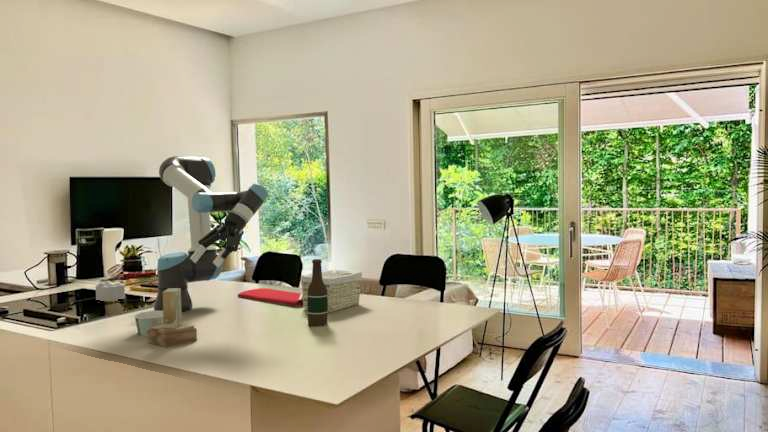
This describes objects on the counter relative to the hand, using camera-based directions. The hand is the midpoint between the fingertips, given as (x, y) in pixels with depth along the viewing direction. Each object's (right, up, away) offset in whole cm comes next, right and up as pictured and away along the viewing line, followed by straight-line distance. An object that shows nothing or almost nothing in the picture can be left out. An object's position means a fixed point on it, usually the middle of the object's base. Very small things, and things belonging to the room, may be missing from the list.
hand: (203, 262), depth 205 cm
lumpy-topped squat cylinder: (-62, -22, +60) cm, 89 cm away
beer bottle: (+39, -24, +10) cm, 47 cm away
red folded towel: (+16, -22, +59) cm, 65 cm away
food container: (-18, -25, -1) cm, 30 cm away
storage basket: (+42, -22, +41) cm, 63 cm away
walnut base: (-6, -25, -13) cm, 29 cm away
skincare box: (-6, -20, -14) cm, 25 cm away
